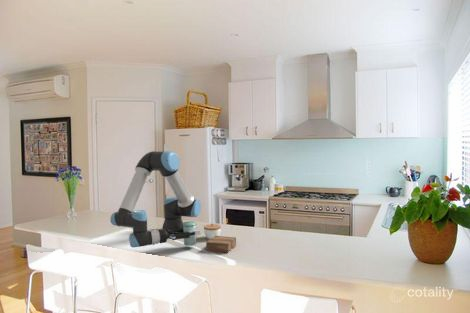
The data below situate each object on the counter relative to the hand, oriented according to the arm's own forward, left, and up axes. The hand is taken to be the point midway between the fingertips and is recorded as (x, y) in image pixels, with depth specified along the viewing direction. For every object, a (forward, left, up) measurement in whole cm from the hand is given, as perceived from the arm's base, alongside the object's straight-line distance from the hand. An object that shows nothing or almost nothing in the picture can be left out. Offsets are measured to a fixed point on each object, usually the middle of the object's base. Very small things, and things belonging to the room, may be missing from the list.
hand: (197, 230), depth 202 cm
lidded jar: (-18, +1, -10) cm, 20 cm away
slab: (-1, +14, -9) cm, 17 cm away
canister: (+3, -4, -7) cm, 9 cm away
